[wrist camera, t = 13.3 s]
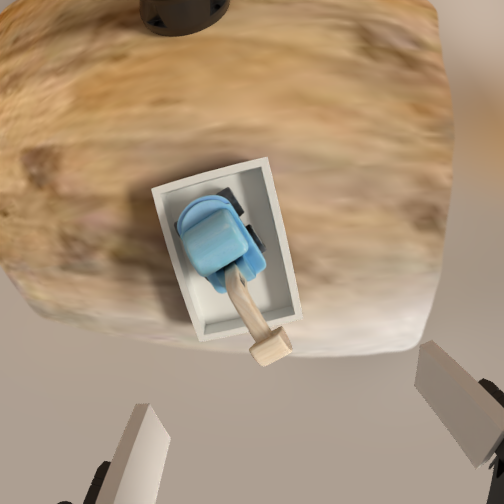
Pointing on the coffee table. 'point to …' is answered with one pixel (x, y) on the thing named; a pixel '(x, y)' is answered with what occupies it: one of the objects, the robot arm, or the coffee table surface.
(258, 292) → the white tray
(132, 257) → the coffee table surface
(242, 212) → the toy excavator
